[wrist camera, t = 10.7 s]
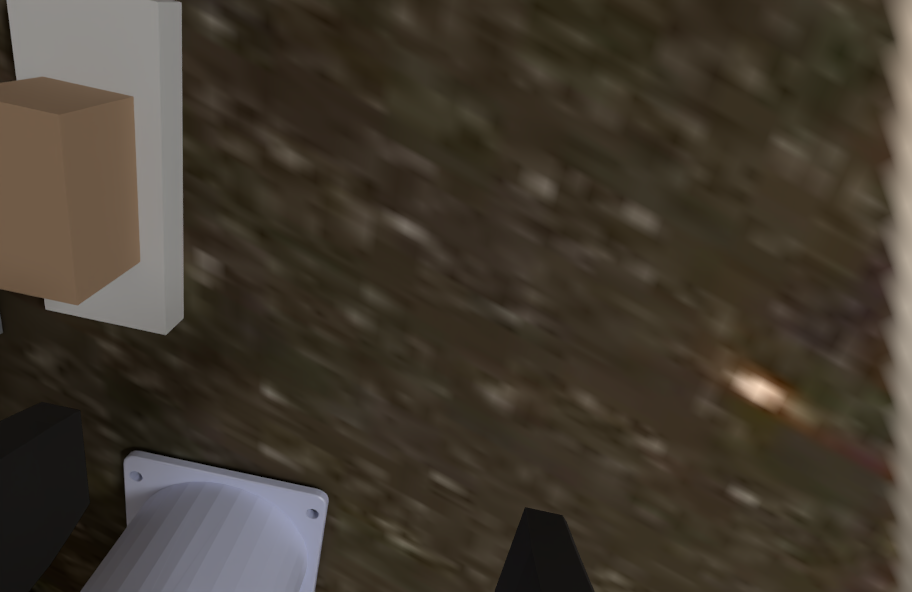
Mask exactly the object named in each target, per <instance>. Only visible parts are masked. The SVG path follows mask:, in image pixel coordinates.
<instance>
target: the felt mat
mask: <svg viewBox="0 0 912 592" xmlns="http://www.w3.org/2000/svg"><path fill="white" fill-rule="evenodd" d="M2 333H3V329H2V322H1V316H0V334H2Z"/></svg>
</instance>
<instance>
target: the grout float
mask: <svg viewBox="0 0 912 592" xmlns="http://www.w3.org/2000/svg"><path fill="white" fill-rule="evenodd" d="M7 8H8V16H9V24H10V32H11V40H12V48H13V56H14V63H15V71H16V79H17V81H10V82H4V83H0V289H3V290H7V291H12V292H17V293H21V294H26V295H31V296H35V297H40V298H44V302H45V309H46V310H51V311H55V312H60V313H65V314H69V315H74V316H79V317H83V318H88V319H93V320H97V321H102V322H107V323H111V324H116V325H121V326H126V327H130V328H135V329H140V330H144V331H149V332H154V333H158V334H163V335H167V334H168V333H169V332H170V331H171V330H172V329H173V328H174V327H175V326H176V325H177V324H178V323H179V322H180V321H181V320H182V319H183V318H184V303H183V153H182V4H181V2H178V1H173V0H7Z"/></svg>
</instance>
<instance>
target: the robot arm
mask: <svg viewBox="0 0 912 592" xmlns="http://www.w3.org/2000/svg"><path fill="white" fill-rule="evenodd" d="M123 465H124V483H125V500H126V518H127V528H126V529H125V530H124V532H123V533H122V535H121V536H120V537H119V539H118V540H117V541H116V543H115V544H114V546H113V547H112V548H111V550H110V551H109V552H108V554H107V555H106V557H105V558H104V559H103V561H102V562H101V563H100V565H99V566H98V568H97V569H96V570H95V572H94V573H93V574H92V576H91V577H90V579H89V580H88V581H87V583H86V584H85V586H84V587H83V588H82V590H81V591H80V592H315V586H316V579H317V573H318V566H319V560H320V553H321V547H322V540H323V534H324V527H325V521H326V514H327V508H328V501H329V500H328V496H327V494H326V493H325V492H323V491H322V490H319V489H316V488H311V487H306V486H302V485H297V484H292V483H288V482H283V481H278V480H274V479H269V478H264V477H260V476H255V475H250V474H246V473H241V472H236V471H232V470H227V469H222V468H218V467H213V466H208V465H204V464H199V463H194V462H190V461H185V460H180V459H176V458H171V457H166V456H162V455H157V454H152V453H148V452H143V451H132V452H131V453H130V454H129V455H128V456H127V457H126V458H125V459H124V463H123ZM138 472H139V473H138ZM89 504H90V499H89V490H88V480H87V471H86V461H85V452H84V442H83V432H82V423H81V413H80V410H77V409H72V408H68V407H63V406H58V405H54V404H49V403H45V402H41V403H39V404H36V405H34V406H32V407H30V408H27V409H25V410H23V411H21V412H19V413H17V414H14V415H12V416H10V417H8V418H6V419H4V420H2V421H0V592H29V591H30V589H31V588H32V587H33V586H34V584H35V583H36V582H37V581H38V579H39V578H40V577H41V576H42V574H43V573H44V572H45V571H46V569H47V568H48V567H49V566H50V564H51V563H52V561H53V560H54V558H55V557H56V555H57V554H58V552H59V551H60V549H61V548H62V546H63V545H64V543H65V542H66V540H67V539H68V537H69V536H70V534H71V533H72V531H73V529H74V528H75V526H76V525H77V523H78V521H79V520H80V518H81V516H82V515H83V513H84V512H85V510H86V508H87V507H88V505H89ZM311 509H314V510H316V511H313V510H311ZM495 592H594V589H593V587H592V585H591V582H590V580H589V577H588V575H587V573H586V570H585V568H584V565H583V563H582V560H581V558H580V555H579V553H578V550H577V548H576V545H575V543H574V540H573V537H572V535H571V532H570V530H569V527H568V524H567V522H566V520H565V519H564V517H563V516H562V515H559V514H554V513H549V512H545V511H540V510H536V509H531V508H526V507H525V509H524V512H523V515H522V517H521V520H520V523H519V526H518V528H517V531H516V534H515V537H514V539H513V542H512V545H511V548H510V550H509V553H508V556H507V559H506V561H505V564H504V567H503V570H502V572H501V575H500V578H499V581H498V583H497V586H496V589H495Z"/></svg>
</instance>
